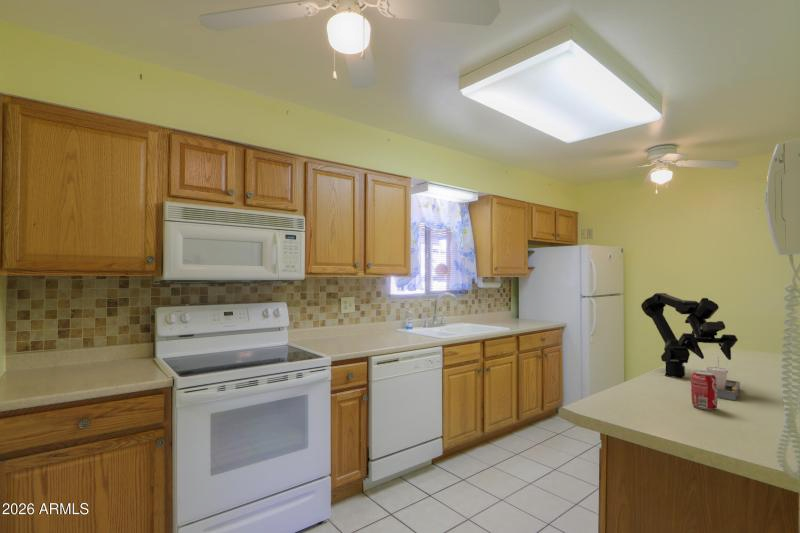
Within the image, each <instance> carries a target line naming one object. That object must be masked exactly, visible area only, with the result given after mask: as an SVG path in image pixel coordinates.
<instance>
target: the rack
mask: <svg viewBox="0 0 800 533" xmlns="http://www.w3.org/2000/svg"><path fill="white" fill-rule="evenodd" d="M740 390H741V382H740V381H737V380H730V379H726V385H725V390H721V389H717V399H724V400H728V401H735V402H736V399H737V397H738V395H739V392H740Z"/></svg>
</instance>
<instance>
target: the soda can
mask: <svg viewBox="0 0 800 533" xmlns="http://www.w3.org/2000/svg"><path fill="white" fill-rule="evenodd" d="M714 375H715V374H714V373H712V372H708V371H707V370H696V369H695V370H693V373H692V375H691V379H690V380H691V383H690V384H691V385H690V386H691V387H690V392H691V405H693V406H694V407H695V408H696V409H700V410H704V411H713V410H715V409H717V408H718V398H717V379H716V377H715V376H714Z"/></svg>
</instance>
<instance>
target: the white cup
mask: <svg viewBox="0 0 800 533" xmlns="http://www.w3.org/2000/svg"><path fill="white" fill-rule="evenodd" d="M716 364H717V366H708V367H706V371H708V372H712V373H714V374H715V375H714V376H715V377H716V379H717V389H721V390H725V385H726V380H727V376H728V374H729V370H728V369H727V368H724V367H720V357H717V362H716Z"/></svg>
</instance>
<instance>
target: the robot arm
mask: <svg viewBox="0 0 800 533" xmlns="http://www.w3.org/2000/svg"><path fill="white" fill-rule="evenodd" d="M666 305H667V306H669V307H672V308H674V309H675V311H676V312H677V313H679V314H680V315H688V316H687V317H686V319H685V321H684V324H689V325H690V327H691V329H692V331H691V333H689V332H688V333H686V332H684V333H682V334H681V335H680V337H679V339H678V338H677V337H676V335H675V334H674V332H673V329H672V328H671V326H670V325H669V323H668V321H667V319H666V317H665V316H664V311H665V309H664V308H665V307H666ZM640 308H641V309H642V311H643V313H644V314H645V315H646V316H647V317H649V318H650V319H652V321H653V324H654V325H655V326H656V329H657V331H658V333H659V334H660V337H661V338H662V340H663V342H664V347H663V348H664V352H663V353H662V354H661V356H660V358H661V362H664V363H665V374H664V376H666V377H672V378H679V379H683V378H684V377H685V376H686V366H685V364H688V362H689V359H690V355H691V354H690V352H691V353H693V354H694V355H695V356H697V357H698V358H700V359H701V360H704V358H705V356H704V354H703V351H702V350H701V348H700V346H699V343H703V344H717V345H718V346H719V347H720V348H719V349H720V350H721V352H722V353H723V355H724V356H725V358H726V359H727V360H728V361H731V360H732V350H731V349H732V348H733V347H734V346H735V344H736V343H737V342H738V341H739V339H738V338H737V336H736V334H721V337H717V335H718V332H721V331H723V330H725V329H726V324H725V323H724V321H723V320H717V321H707V320H709V319H711V318H712V316H714V314H716V312H717V311H718V310H719V308H720V307H719V304H718V303H716V302H714V301H712V300H710V299H709V298H708V297H702V298H701V299H700V301H696V300H690V299H689V300H688V299H687V300H686V299H681V298H678V297H675V296H672V295H670V294H667V293H666V292H665V293H664V292H656V293H654V294H653V295H652V296H650V297H648V298H645V300H644V301H643V302H642V303H641V307H640Z"/></svg>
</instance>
